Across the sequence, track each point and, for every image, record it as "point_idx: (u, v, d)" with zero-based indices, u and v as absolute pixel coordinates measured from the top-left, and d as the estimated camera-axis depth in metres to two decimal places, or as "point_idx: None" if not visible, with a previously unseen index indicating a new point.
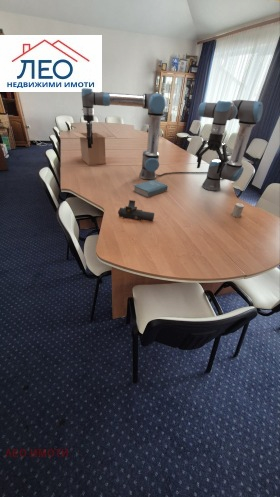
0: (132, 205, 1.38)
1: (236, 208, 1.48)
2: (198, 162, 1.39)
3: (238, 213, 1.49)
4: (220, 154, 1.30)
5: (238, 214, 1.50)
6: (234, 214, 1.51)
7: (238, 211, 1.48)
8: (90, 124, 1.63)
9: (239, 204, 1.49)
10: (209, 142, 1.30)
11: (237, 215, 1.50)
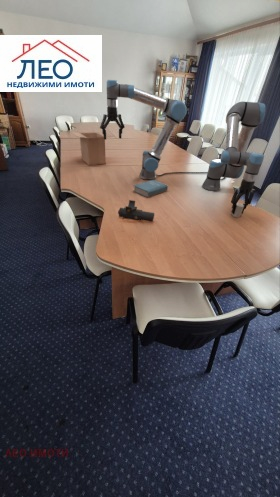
0: (132, 205, 1.38)
1: (236, 208, 1.48)
2: None
3: (238, 213, 1.49)
4: (247, 198, 1.45)
5: (238, 214, 1.50)
6: (234, 214, 1.51)
7: (238, 211, 1.48)
8: None
9: (239, 204, 1.49)
10: (242, 188, 1.40)
11: (237, 215, 1.50)
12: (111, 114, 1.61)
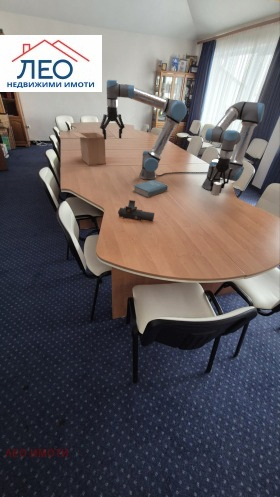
0: (132, 205, 1.38)
1: (213, 186, 1.53)
2: (212, 186, 1.53)
3: (215, 191, 1.53)
4: (225, 176, 1.48)
5: (215, 192, 1.53)
6: (211, 192, 1.55)
7: (214, 189, 1.52)
8: None
9: (217, 182, 1.52)
10: (218, 165, 1.45)
11: (214, 193, 1.54)
12: (111, 114, 1.61)
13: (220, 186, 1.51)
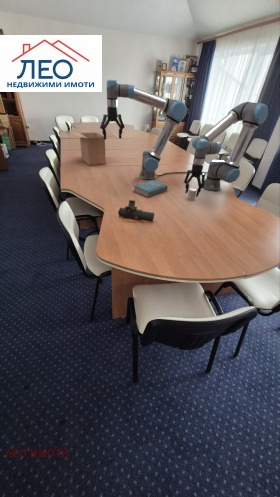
0: (132, 205, 1.38)
1: None
2: (186, 188, 1.67)
3: (189, 196, 1.67)
4: (199, 181, 1.59)
5: (189, 197, 1.68)
6: (187, 197, 1.70)
7: (189, 194, 1.67)
8: None
9: (193, 189, 1.66)
10: (192, 171, 1.59)
11: (188, 198, 1.68)
12: (111, 114, 1.61)
13: (193, 192, 1.64)
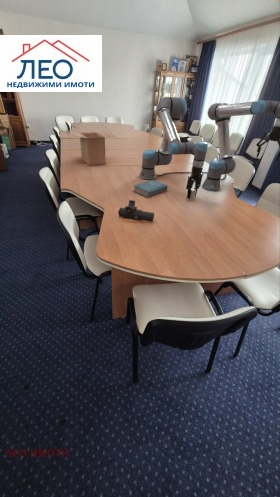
0: (132, 205, 1.38)
1: None
2: (258, 151, 1.63)
3: None
4: None
5: None
6: None
7: None
8: None
9: (193, 189, 1.66)
10: (271, 134, 1.54)
11: (188, 198, 1.68)
12: (196, 173, 1.57)
13: (193, 192, 1.64)
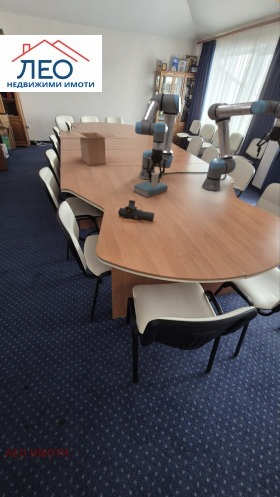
0: (132, 205, 1.38)
1: None
2: (258, 151, 1.63)
3: None
4: None
5: None
6: None
7: (151, 178, 1.61)
8: None
9: (155, 173, 1.59)
10: (271, 134, 1.54)
11: None
12: (155, 156, 1.51)
13: (153, 177, 1.58)
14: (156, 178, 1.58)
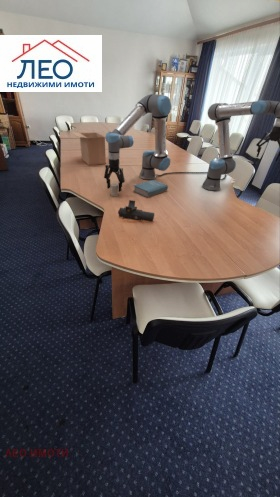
0: (132, 205, 1.38)
1: None
2: (258, 151, 1.63)
3: None
4: None
5: None
6: None
7: None
8: None
9: (115, 184, 1.64)
10: (271, 134, 1.54)
11: None
12: (111, 165, 1.55)
13: (111, 187, 1.63)
14: (113, 189, 1.63)
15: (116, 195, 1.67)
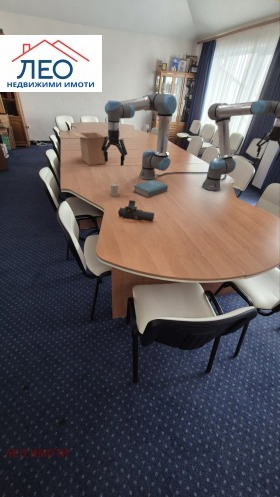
0: (132, 205, 1.38)
1: None
2: (258, 151, 1.63)
3: None
4: None
5: None
6: None
7: None
8: None
9: (115, 184, 1.64)
10: (271, 134, 1.54)
11: None
12: (111, 137, 1.45)
13: (111, 187, 1.63)
14: (113, 189, 1.63)
15: (116, 195, 1.67)
